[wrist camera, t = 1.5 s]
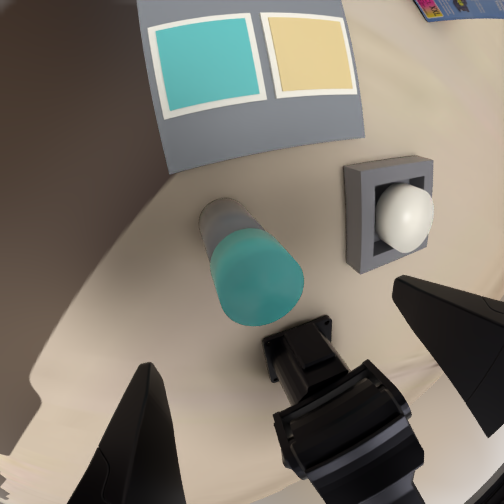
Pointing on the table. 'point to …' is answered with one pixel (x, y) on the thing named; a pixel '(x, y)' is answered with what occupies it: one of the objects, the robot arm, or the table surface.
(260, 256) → the marker
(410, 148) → the table surface
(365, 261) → the button housing
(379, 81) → the table surface
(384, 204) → the button
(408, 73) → the table surface
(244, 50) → the picture board
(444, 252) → the table surface
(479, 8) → the ink cartridge box
